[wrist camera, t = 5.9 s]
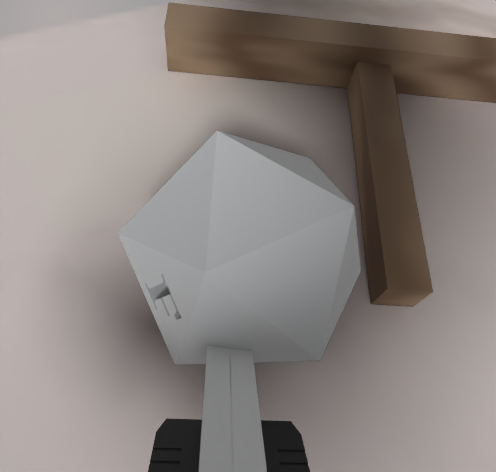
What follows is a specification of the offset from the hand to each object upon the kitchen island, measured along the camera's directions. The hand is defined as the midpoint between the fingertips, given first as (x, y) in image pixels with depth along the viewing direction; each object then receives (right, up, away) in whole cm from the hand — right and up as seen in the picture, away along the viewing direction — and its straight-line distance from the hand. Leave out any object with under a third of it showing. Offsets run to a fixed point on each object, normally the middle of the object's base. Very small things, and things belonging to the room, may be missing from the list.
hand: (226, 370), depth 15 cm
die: (0, +2, +5) cm, 5 cm away
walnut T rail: (+8, +9, +9) cm, 14 cm away
